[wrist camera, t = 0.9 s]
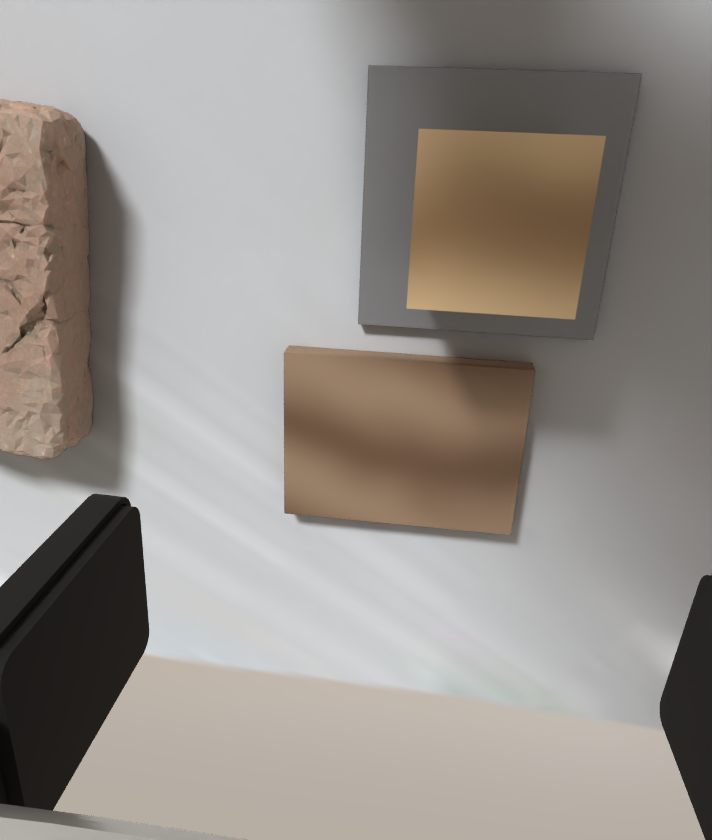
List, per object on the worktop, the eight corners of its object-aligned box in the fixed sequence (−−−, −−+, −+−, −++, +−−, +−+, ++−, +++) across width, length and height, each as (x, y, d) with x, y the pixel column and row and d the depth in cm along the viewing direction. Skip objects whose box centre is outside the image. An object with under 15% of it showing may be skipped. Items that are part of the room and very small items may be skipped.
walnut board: (289, 345, 33) (283, 352, 32) (532, 363, 32) (535, 370, 31) (289, 502, 37) (284, 513, 35) (508, 523, 35) (510, 535, 34)
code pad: (370, 67, 28) (368, 65, 27) (637, 74, 27) (641, 73, 26) (359, 320, 32) (358, 324, 32) (590, 336, 31) (593, 340, 31)
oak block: (423, 133, 28) (418, 128, 22) (567, 138, 28) (606, 135, 21) (413, 274, 30) (406, 308, 24) (546, 282, 30) (575, 319, 23)
